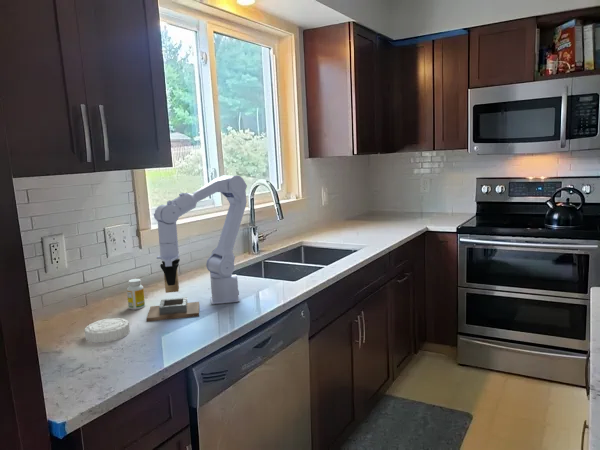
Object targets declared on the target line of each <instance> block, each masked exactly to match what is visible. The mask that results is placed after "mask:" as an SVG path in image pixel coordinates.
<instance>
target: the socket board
mask: <svg viewBox="0 0 600 450" xmlns="http://www.w3.org/2000/svg"><path fill="white" fill-rule="evenodd" d="M199 316H200V301H194V302H188V297H176V298H165V299H160V303H159V305H152V306H150V308H149V310H148V313H147V316H146V322H152V321H164V320H173V319H181V318H191V317H199Z"/></svg>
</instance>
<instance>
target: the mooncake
mask: <svg viewBox="0 0 600 450" xmlns="http://www.w3.org/2000/svg"><path fill="white" fill-rule="evenodd" d="M83 331H84V337H85V342H89V343H94V344H96V343H99V344H102V343H109V342H113V341H117V340H121V339H123V338H124V337H127V335H129V333H130V331H131V329H130V322H129V320H128V319H125V318H120V317H115V318H104V319H99V320H97V321H94V322H92V323H89V324H88V325H86V327H85V328H84V330H83Z"/></svg>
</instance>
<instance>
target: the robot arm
mask: <svg viewBox="0 0 600 450" xmlns="http://www.w3.org/2000/svg"><path fill="white" fill-rule="evenodd" d="M247 187H248V185H247V183H246V181H245V180H244V178H243V177H242V176H241V175H227V174H226V175H225V174H224V175H220V176H219V177H216V178H213V180H210V181H209V182H208V183H207V184H205V185H203V186H202V187H200V188H198V189H197V190H196V191H195V190H194V191H193V192H192V193H189V192H180V193H179V195H178V196H177V197H175V198H174V199H172V200H167V201H166V204H161V205H158V206H157V207H156V209H155V211H154V213H153V217H154V220H156V222H157V230H158V244H159V254H160V255H157V256H156V259H157V260H161V263H160V265H159V267H160V268H161V269H160V270H162V272H163V275H164V274H165V277H166V281H167V284H168V286H170V285H175V281H176V271H177V269H178V267H179V265H180V264H179V263H180V261H181V260H180V254H179V240H178V228H177V221H178V220H179V218H180V217H181V216H184V215H185V214H187V213H188V212H190V211H192V210H193V209H195V208H196V207H197V205H198V202H200V201H202V200H204V199H207V198H208V197H210V196H212V195H214V194H217V193H221V195H223V196H224V197H225V199H226V200H227V201H228V203H229V206H228V210H227V213H226V216H225V220H224V223H223V227H222V230H221V233H220V237H219V240H218V242H217V246H216V247H215V248H214V249H213V250H212V252H211V255H210V256H209V257H208V258H207V260H206V263H205V266H206V269H207V271H208V272H209V275H210V290H211V296H210V304H211V305H217V304H220V305H221V304H229V303H238V302H240V296H239V295H240V291H239V282H238V275H237V274H233V272H234V271H235V260H236V259H235V258H236V255H235V253H234V246H235V243H236V241H237V240H236V239H237V236H238V234H239V230H240V227H241V222H242V220H243V217H244V212H245V210H246V207H247V193H246V190H247Z"/></svg>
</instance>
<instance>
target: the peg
mask: <svg viewBox="0 0 600 450" xmlns="http://www.w3.org/2000/svg"><path fill="white" fill-rule="evenodd" d="M163 277H164V278H163V279H164V288H165V289H164V290H165V293H166V294H167V293H178V292H179V290H180V286H179V282H180V281H179V271H178V268H177V271H176V281H175V285H170V286H168V284H167V281H166V277H165V274H164V273H163Z"/></svg>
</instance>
